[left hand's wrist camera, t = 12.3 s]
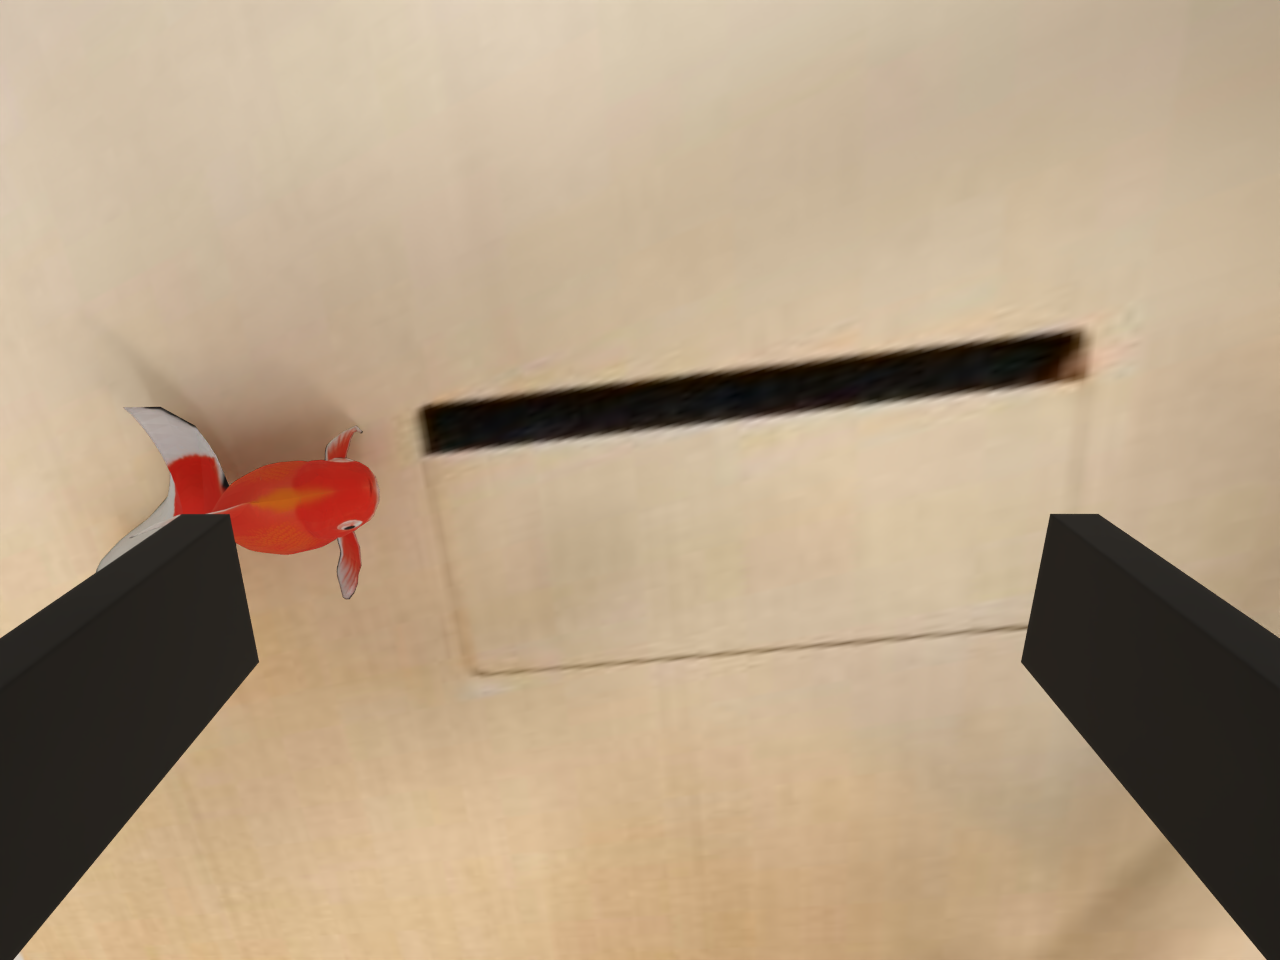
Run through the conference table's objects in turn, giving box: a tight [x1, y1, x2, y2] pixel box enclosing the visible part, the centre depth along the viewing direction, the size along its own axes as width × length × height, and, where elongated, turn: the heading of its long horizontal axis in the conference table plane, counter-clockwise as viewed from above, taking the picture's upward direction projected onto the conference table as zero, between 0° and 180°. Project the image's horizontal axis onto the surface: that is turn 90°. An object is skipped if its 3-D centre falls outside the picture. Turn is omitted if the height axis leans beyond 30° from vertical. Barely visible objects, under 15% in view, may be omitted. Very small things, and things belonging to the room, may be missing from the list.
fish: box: [96, 407, 380, 599], centre depth 35 cm, size 11×16×10 cm
